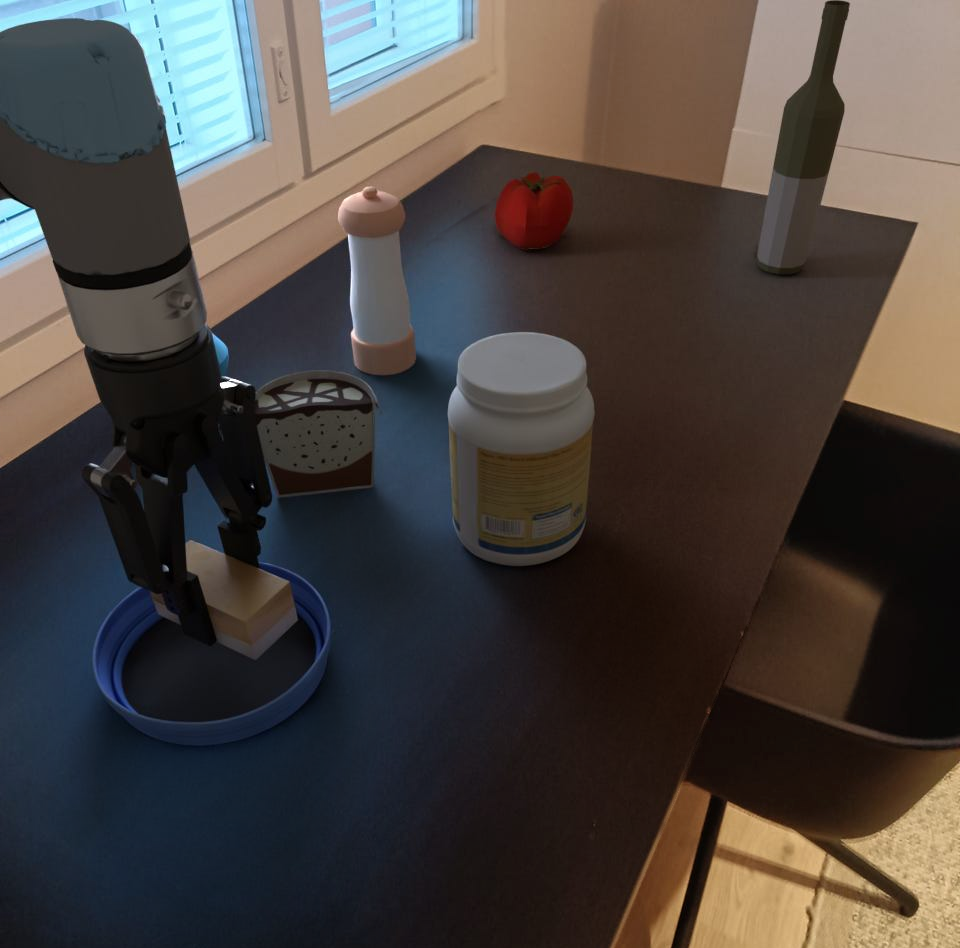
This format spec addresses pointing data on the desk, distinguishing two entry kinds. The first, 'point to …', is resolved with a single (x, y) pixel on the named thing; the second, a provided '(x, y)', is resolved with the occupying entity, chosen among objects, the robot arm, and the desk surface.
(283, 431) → the food container
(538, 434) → the supplement tub
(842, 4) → the bottle
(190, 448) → the robot arm
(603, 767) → the desk surface
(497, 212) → the tomato
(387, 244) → the pepper shaker
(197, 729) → the blue ring
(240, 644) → the eraser
